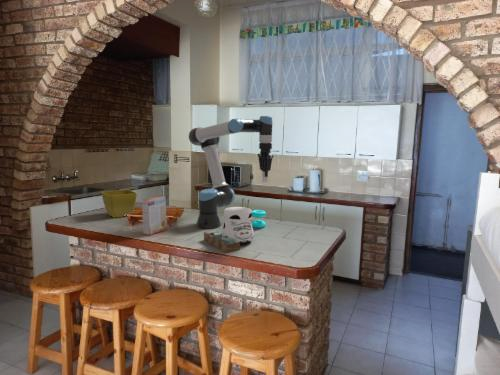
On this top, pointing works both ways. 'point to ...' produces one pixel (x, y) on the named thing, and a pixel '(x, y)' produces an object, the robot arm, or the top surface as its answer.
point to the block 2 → (228, 240)
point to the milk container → (238, 224)
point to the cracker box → (154, 215)
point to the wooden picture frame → (220, 243)
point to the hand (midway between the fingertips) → (264, 182)
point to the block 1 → (218, 235)
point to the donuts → (258, 215)
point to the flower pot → (119, 202)
